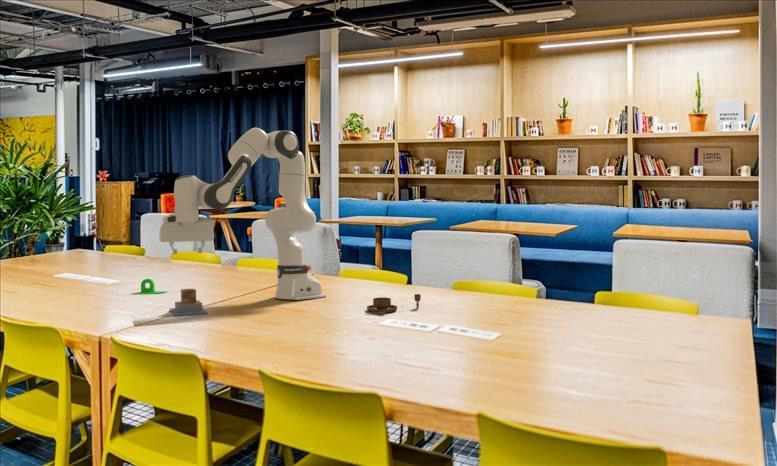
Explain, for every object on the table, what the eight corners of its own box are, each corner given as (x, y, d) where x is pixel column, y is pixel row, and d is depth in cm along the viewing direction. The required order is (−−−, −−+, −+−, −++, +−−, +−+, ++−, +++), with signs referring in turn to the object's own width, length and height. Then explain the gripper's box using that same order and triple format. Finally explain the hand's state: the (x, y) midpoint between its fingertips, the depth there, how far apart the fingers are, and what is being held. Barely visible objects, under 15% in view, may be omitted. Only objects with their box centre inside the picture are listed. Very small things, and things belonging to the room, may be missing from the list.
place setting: (374, 306, 271) (374, 292, 270) (422, 308, 265) (422, 294, 265) (360, 313, 254) (360, 298, 253) (411, 315, 248) (411, 300, 248)
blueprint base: (201, 308, 267) (201, 298, 267) (207, 314, 252) (207, 304, 252) (170, 310, 262) (169, 300, 262) (174, 316, 247) (174, 306, 247)
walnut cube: (194, 301, 260) (194, 288, 260) (196, 302, 256) (196, 289, 255) (181, 302, 258) (180, 289, 258) (182, 303, 254) (182, 290, 253)
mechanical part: (138, 297, 301) (137, 280, 300) (142, 295, 307) (142, 278, 306) (164, 297, 301) (164, 279, 300) (168, 295, 307) (168, 278, 306)
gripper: (212, 216, 263) (213, 251, 263) (158, 217, 254) (159, 253, 255) (215, 217, 257) (216, 252, 258) (159, 218, 249) (160, 254, 249)
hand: (187, 253), depth 256 cm, fingers open, 8 cm apart
